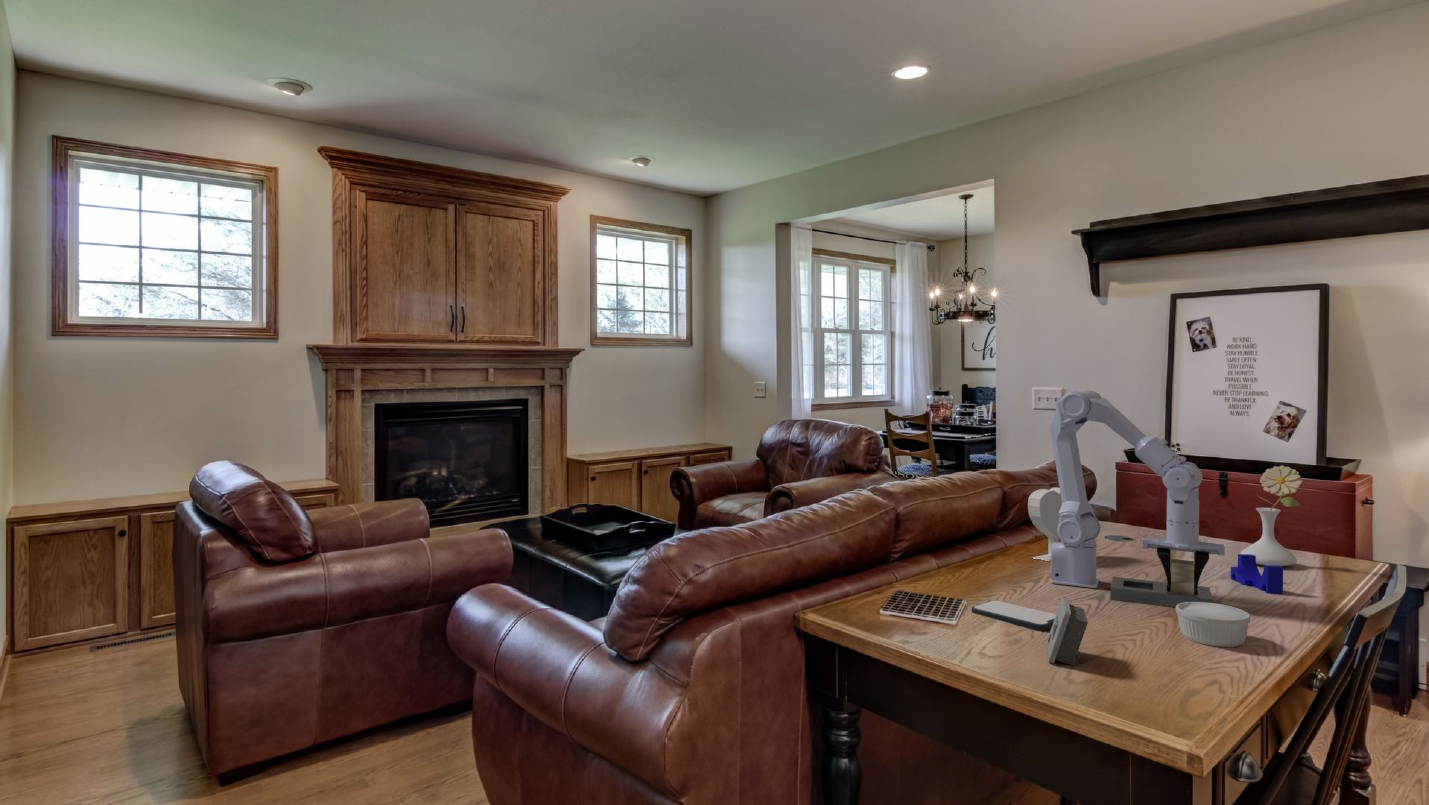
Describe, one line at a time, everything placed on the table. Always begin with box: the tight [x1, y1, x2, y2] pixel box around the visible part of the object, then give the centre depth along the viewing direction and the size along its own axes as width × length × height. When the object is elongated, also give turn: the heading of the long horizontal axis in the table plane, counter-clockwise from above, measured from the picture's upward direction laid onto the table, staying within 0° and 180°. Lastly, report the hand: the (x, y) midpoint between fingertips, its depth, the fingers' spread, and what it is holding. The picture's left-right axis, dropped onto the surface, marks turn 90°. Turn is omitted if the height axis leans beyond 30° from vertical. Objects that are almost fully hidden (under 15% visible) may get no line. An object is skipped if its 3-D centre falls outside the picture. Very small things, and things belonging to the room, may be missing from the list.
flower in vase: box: [1240, 465, 1303, 567], centre depth 185 cm, size 13×11×25 cm
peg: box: [1171, 558, 1194, 595], centre depth 156 cm, size 4×4×8 cm
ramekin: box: [1175, 602, 1251, 648], centre depth 134 cm, size 11×11×5 cm
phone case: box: [971, 600, 1056, 632], centre depth 147 cm, size 9×2×16 cm
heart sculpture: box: [1027, 486, 1062, 561], centre depth 196 cm, size 16×5×18 cm, turn 119°
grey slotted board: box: [1110, 576, 1213, 608], centre depth 158 cm, size 18×10×2 cm, turn 59°
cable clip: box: [1230, 553, 1284, 595], centre depth 167 cm, size 12×4×6 cm, turn 171°
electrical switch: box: [1046, 597, 1089, 666], centre depth 126 cm, size 9×5×9 cm, turn 158°
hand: (1182, 585), depth 156 cm, fingers closed on peg, 4 cm apart
